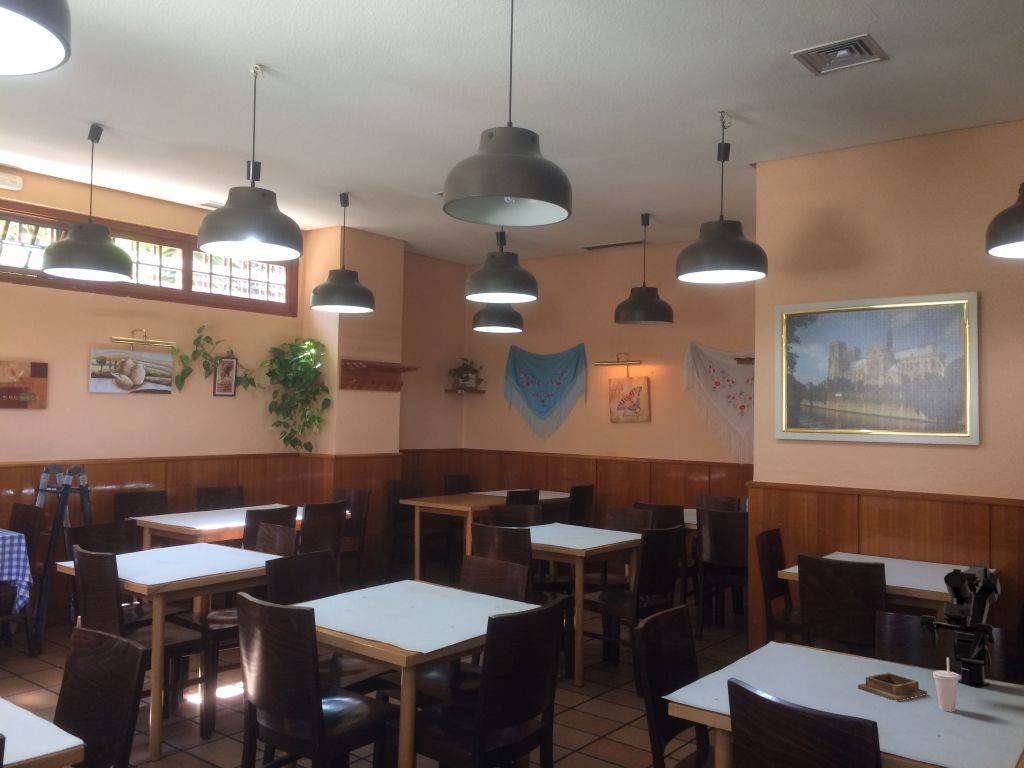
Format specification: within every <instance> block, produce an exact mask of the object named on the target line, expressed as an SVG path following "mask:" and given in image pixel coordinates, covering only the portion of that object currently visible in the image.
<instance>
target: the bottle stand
mask: <svg viewBox="0 0 1024 768" xmlns="http://www.w3.org/2000/svg"><path fill="white" fill-rule="evenodd" d="M919 684H920V683H919V681H917V680H914V679H910V678H908V677H904V676H901V675H898V674H894V673H891V672H885V673H878V674H874V675H869V676H865V683H861V684H858V685H857V688H858V689H859V690H860V691H861V690H862V691H864V692H867V693H871V694H872V695H873V694H874V695H877V696H880V697H882V696H883V698H885V697H886V698H885V699H888V698H890V699H889V700H891V699H893V700H892V701H894V700H897V701H898V700H902V701H904V700H903V699H907V698H911V697H915V696H919V695H923V694H927V695H928V691H927V690H924V689H920V687H919V686H920V685H919ZM915 698H916V697H915ZM911 699H912V698H911ZM907 700H908V699H907ZM897 701H896V702H897ZM898 702H899V701H898Z"/></svg>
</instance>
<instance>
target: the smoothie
mask: <svg viewBox="0 0 1024 768" xmlns="http://www.w3.org/2000/svg"><path fill="white" fill-rule="evenodd" d="M932 673H933V674H932V676H933V677H934V682H935V683H934V684H935V689H936V693H937V694H936V696H937V699H938V706H939V707H938V708H939V710H940V709H942V710H944V711H943V712H946V711H949V712H948V713H954V712H956V703H957V694H958V687H959V686H958V685H959V682H958V680H959V679H960V674H958V673H956V672H954V671H950V657H946V670H941V669H940V670H934V671H932ZM942 710H941V711H942ZM953 711H954V712H953Z"/></svg>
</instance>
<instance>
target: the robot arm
mask: <svg viewBox="0 0 1024 768" xmlns="http://www.w3.org/2000/svg"><path fill="white" fill-rule="evenodd" d="M943 581H944V585H945V586H946V590H947V593H948V596H950V597H951V598H950V602H944V603H943V611H942V612H943V613H942V614H943V615H944V616H943V619H944V621H946V622H942V621H941V622H940V621H938V620H937V617H936V616H932V615H924V614H923V615H921V616H920V617H919V621H918V622H919V623H918V624H919V625H920V628H921V631H922V633H923V634H926V635H927V636H928V637H930V639H931V644H932V649H933V652H934V653H936V652H937V649H938V641H939V631H940V630H942V631H949V632H955V633H957V636H956V640H954V642H953V654H954V661H955V662H956V663H958V662H960V675H961V676H960V678H959V680H958V683H961V684H964V685H967V684H968V685H967V686H970V687H971V686H972V687H974V688H980V687H981V688H982V687H985V686H989V685H990V682H988V681H985V667H991V666H992V659H991V654H990V651H989V649H988V646H990V645H994V644H996V641H997V635H996V631H995V628H994V626H992V624H988V623H986V621H987V618H988V612H989V607H990V606H991V605H992V604H994V603H995V602H997V599H998V596H999V595H1001V583H1000V579H999V577H998V576H997V575H995V574H994V573H993V572H992V571H990V567H989V566H986V565H980V564H972V565H970V566H969V567H968V568H967V569H966V570H964V571H962V569H958V568H953V571H951V572H948V573H947V574H945V575H944V577H943Z"/></svg>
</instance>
